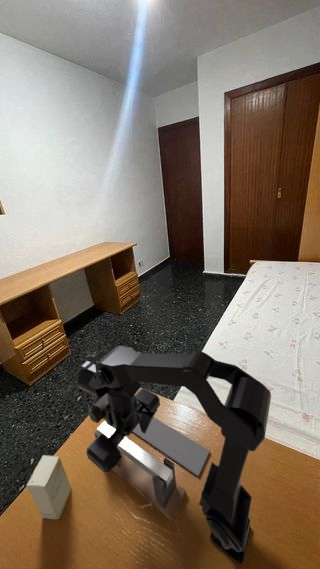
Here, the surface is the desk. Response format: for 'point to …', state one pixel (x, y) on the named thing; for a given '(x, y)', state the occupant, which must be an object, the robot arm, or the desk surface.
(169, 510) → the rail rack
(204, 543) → the desk surface
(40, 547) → the desk surface
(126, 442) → the steel rail
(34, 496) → the skincare box
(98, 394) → the robot arm
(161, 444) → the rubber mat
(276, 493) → the desk surface
